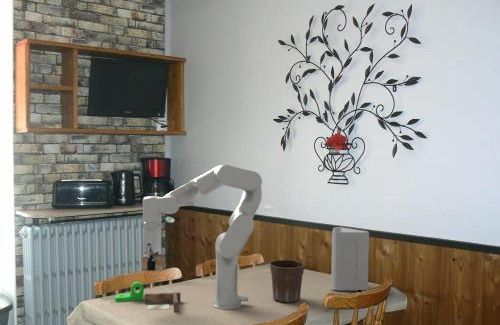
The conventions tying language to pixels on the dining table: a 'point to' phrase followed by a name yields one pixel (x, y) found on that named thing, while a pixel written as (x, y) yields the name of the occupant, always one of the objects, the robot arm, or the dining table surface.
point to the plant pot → (286, 280)
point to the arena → (162, 300)
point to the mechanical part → (132, 294)
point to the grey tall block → (349, 259)
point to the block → (158, 262)
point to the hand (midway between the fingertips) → (153, 268)
